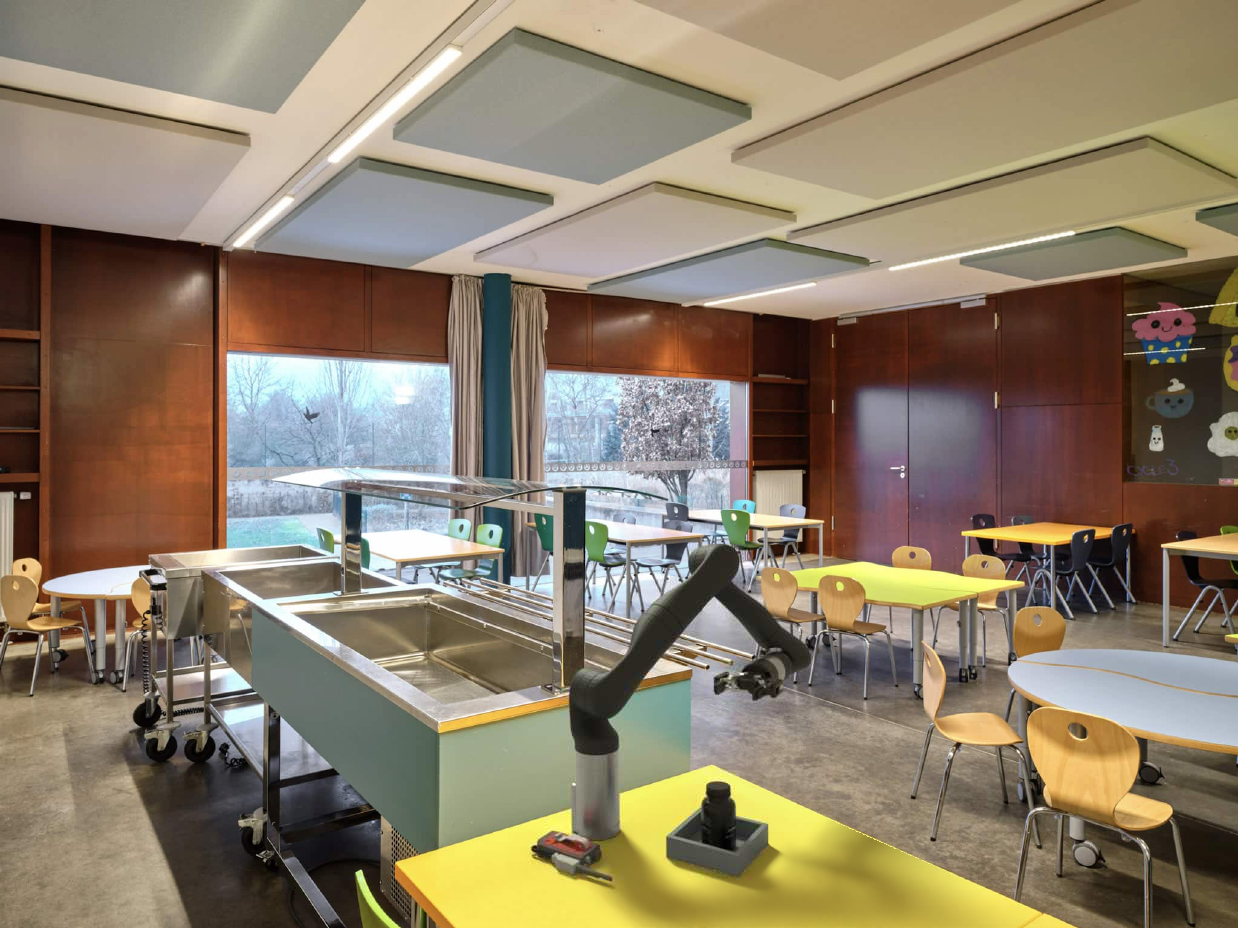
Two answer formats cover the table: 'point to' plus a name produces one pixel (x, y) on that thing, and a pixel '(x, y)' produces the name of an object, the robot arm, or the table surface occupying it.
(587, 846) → the walkie-talkie
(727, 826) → the supplement bottle
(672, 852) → the tray
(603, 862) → the table surface
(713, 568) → the robot arm
